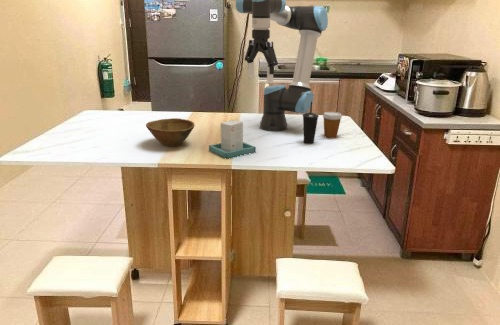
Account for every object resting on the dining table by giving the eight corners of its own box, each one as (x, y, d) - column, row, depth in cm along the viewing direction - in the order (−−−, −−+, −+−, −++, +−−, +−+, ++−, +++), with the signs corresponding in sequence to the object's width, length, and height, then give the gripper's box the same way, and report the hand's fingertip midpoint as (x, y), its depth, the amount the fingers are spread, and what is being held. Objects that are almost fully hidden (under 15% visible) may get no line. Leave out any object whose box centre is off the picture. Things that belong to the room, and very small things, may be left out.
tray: (208, 150, 184) (208, 145, 184) (237, 144, 194) (237, 139, 193) (226, 159, 174) (226, 153, 173) (255, 152, 183) (255, 146, 183)
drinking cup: (317, 141, 201) (320, 101, 195) (315, 145, 195) (318, 104, 188) (302, 139, 204) (305, 100, 197) (299, 143, 197) (301, 102, 190)
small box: (233, 146, 189) (233, 119, 184) (243, 149, 185) (243, 122, 180) (220, 150, 183) (220, 122, 179) (230, 153, 179) (230, 125, 175)
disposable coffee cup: (339, 139, 205) (342, 116, 200) (320, 138, 206) (322, 115, 202) (339, 134, 213) (342, 112, 209) (321, 133, 215) (323, 111, 211)
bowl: (155, 154, 179) (153, 132, 176) (142, 140, 198) (141, 120, 195) (201, 147, 189) (201, 127, 185) (185, 135, 208) (184, 116, 204)
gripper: (236, 27, 178) (237, 76, 186) (272, 30, 159) (271, 84, 167) (250, 27, 182) (250, 75, 190) (287, 30, 163) (285, 82, 171)
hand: (260, 79), depth 178 cm, fingers open, 13 cm apart
